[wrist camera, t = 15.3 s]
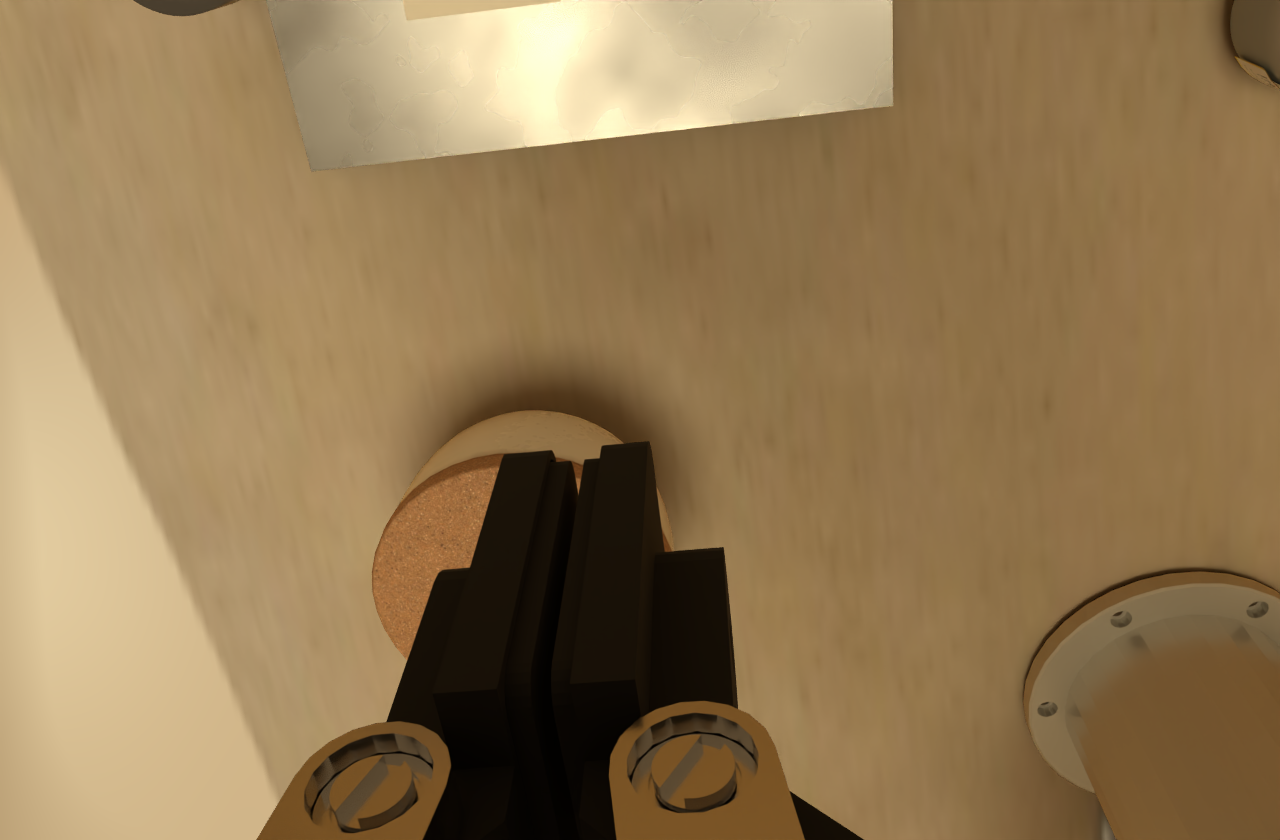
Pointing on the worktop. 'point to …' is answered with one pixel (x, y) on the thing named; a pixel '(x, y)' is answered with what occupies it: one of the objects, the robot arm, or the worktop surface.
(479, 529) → the lidded jar
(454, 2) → the label
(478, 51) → the plate
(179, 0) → the cable arm
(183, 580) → the worktop surface
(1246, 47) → the reed diffuser
